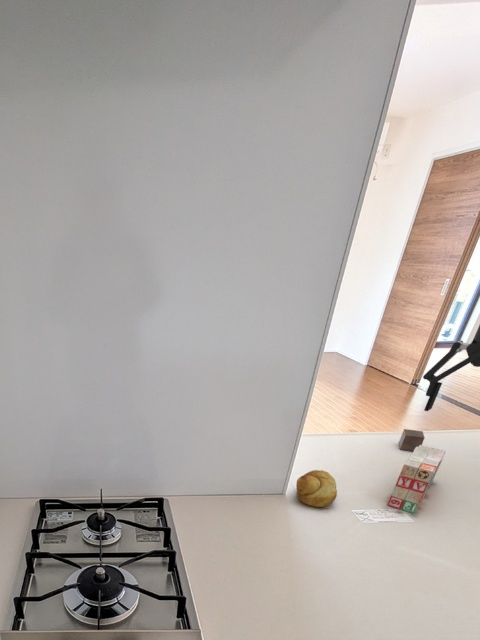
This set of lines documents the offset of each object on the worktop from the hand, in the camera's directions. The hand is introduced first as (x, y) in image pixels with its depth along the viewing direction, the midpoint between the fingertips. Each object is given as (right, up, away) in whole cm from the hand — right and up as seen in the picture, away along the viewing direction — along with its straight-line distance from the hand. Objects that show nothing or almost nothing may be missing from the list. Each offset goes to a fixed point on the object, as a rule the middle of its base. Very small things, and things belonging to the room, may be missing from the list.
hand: (459, 417), depth 104 cm
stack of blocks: (-3, -18, +12) cm, 22 cm away
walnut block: (+12, -2, +33) cm, 35 cm away
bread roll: (-29, -19, +12) cm, 37 cm away
